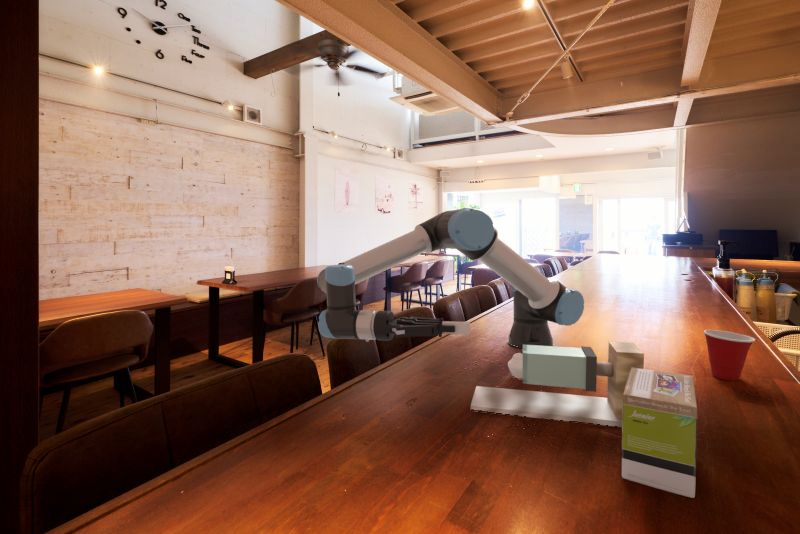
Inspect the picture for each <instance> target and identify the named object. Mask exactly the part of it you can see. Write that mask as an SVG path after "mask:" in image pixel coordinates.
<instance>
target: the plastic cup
mask: <svg viewBox="0 0 800 534" xmlns="http://www.w3.org/2000/svg"><path fill="white" fill-rule="evenodd" d="M703 333H704V337H705V341H706V344H707V346H706V347H707V354H708V361H709V364H710V370H711V372H710V373H711V374H712V376H713V377H714V378H717V379H721V380H725V381H735V380H736V381H739V380H740V378H741V376H742V372H743V369H744V366H745V362H746V360H747V357H748V353H749V350H750V348H751V346H752V345H753V343H754V342H755V341H756V338H754V337H753V336H750V335H746V334H741V333H737V332H732V331H726V330H720V329H719V330H717V329H704V330H703Z"/></svg>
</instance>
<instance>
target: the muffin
mask: <svg viewBox="0 0 800 534" xmlns="http://www.w3.org/2000/svg"><path fill="white" fill-rule="evenodd" d="M507 367H508V370H509V372H510V374H511V376H512V377H513V376H514V377H516V378H522V367H523V352H522V353H521V352H518V353H514V354H513V355H512V358H511V359H510V360H509V361H508V362H507ZM514 377H513V378H514Z"/></svg>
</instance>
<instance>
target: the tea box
mask: <svg viewBox="0 0 800 534" xmlns="http://www.w3.org/2000/svg"><path fill="white" fill-rule="evenodd" d="M697 442H698V405H697V398H696V389H695V381H694V376H693V375H690V374H689V375H688V374H683V373H675V372H667V371H660V370H652V369H645V368H644V369H639V368H633V367H632V368H631V370H630V373H629V377H628V380H627V383H626V386H625V389H624V393H623V399H622V427H621V477H622V479H624V480H627V481H630V482H633V483H634V482H635V483H638V484H641V485H645V486H648V487H651V488H655V489H659V490H662V491H666V492H668V493H672V494H675V495H679V496H683V497H688V498H690V499H694V498H695V496H696V480H697V479H696V475H697V474H696V473H697V446H698V445H697V444H698V443H697Z"/></svg>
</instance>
